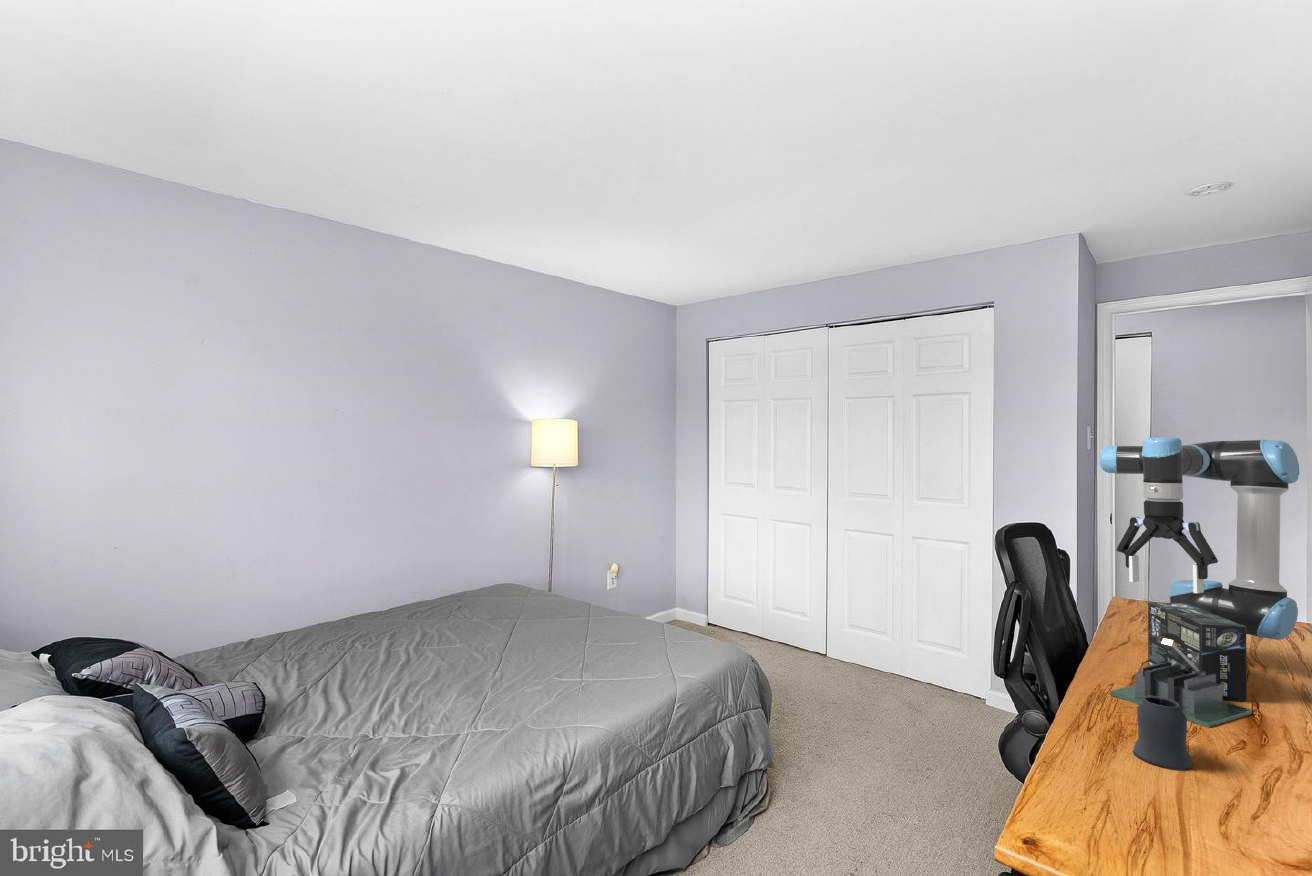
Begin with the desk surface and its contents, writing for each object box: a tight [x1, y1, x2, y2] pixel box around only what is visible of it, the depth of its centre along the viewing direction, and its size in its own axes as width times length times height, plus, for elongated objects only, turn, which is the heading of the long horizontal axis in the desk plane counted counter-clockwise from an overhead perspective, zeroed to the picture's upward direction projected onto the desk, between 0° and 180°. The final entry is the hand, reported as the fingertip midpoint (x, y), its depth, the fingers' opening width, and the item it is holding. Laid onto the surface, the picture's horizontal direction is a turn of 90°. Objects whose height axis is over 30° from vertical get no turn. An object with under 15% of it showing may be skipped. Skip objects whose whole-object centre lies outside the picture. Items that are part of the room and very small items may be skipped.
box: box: [1147, 601, 1248, 703], centre depth 162 cm, size 23×10×19 cm, turn 168°
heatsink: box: [1109, 662, 1252, 728], centre depth 148 cm, size 18×20×8 cm
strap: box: [1162, 638, 1200, 673], centre depth 149 cm, size 16×3×2 cm
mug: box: [1132, 696, 1194, 772], centre depth 122 cm, size 12×9×11 cm
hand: (1165, 586), depth 151 cm, fingers open, 13 cm apart
